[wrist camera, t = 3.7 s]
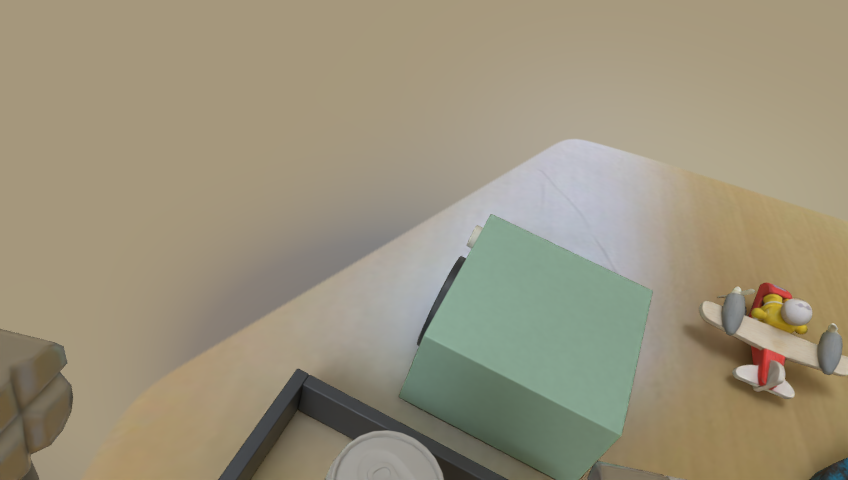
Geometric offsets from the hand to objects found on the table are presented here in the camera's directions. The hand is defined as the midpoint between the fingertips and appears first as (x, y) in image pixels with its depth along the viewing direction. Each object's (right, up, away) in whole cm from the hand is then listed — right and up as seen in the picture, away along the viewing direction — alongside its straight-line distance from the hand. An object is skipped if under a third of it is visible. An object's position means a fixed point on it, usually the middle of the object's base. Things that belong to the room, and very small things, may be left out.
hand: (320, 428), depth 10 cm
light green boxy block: (+8, -6, +35) cm, 36 cm away
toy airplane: (+27, -7, +42) cm, 50 cm away
